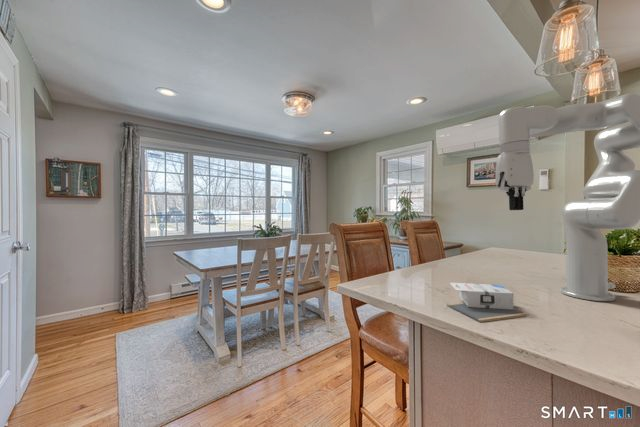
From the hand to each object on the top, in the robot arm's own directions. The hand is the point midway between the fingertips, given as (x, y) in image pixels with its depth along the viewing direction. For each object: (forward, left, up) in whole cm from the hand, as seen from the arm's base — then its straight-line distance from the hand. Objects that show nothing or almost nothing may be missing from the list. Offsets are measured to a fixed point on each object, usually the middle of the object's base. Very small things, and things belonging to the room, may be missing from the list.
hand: (516, 209), depth 82 cm
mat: (+15, +3, -29) cm, 32 cm away
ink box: (+6, +2, -26) cm, 26 cm away
